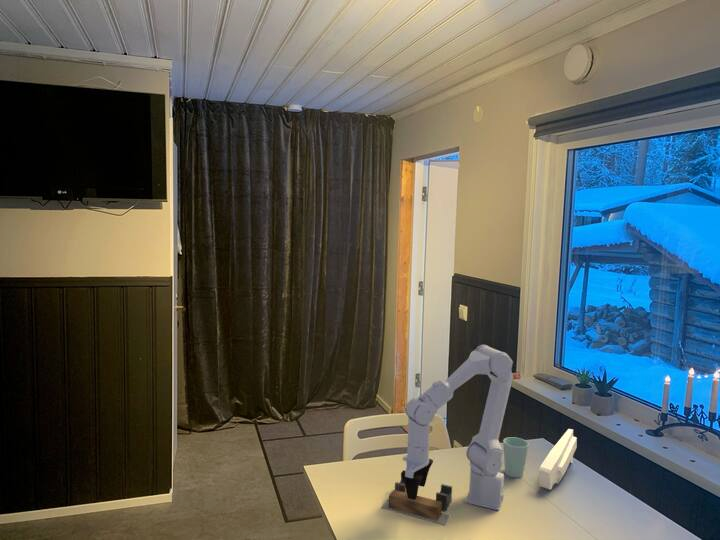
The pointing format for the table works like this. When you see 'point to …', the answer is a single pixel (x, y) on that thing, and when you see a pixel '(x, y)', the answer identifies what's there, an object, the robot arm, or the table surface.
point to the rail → (415, 505)
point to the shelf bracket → (557, 460)
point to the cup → (515, 456)
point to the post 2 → (445, 496)
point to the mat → (442, 519)
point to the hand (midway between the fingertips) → (416, 491)
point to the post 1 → (400, 486)
